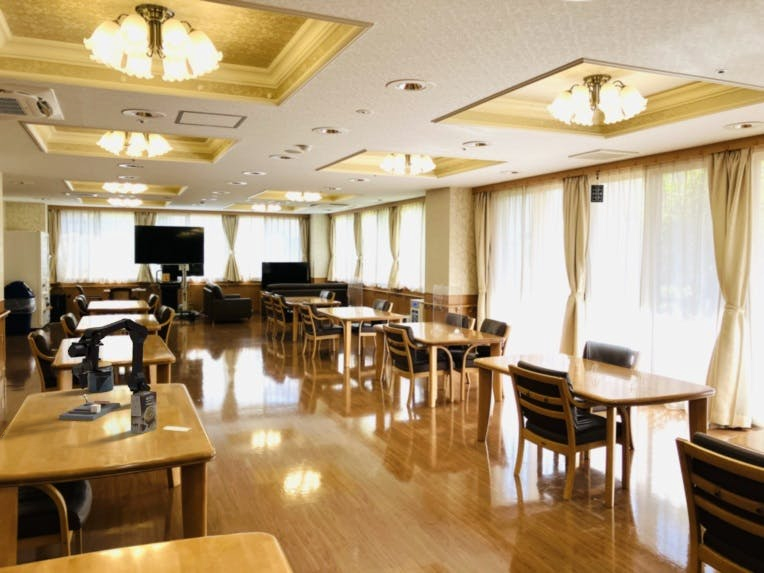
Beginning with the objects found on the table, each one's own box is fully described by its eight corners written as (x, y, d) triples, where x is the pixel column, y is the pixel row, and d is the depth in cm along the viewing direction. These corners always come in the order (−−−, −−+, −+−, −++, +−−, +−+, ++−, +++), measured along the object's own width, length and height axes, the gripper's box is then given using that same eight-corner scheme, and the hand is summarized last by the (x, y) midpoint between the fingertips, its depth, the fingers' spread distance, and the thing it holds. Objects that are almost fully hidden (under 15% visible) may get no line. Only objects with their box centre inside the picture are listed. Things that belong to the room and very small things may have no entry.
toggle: (89, 401, 284) (86, 393, 283) (87, 402, 282) (84, 394, 282) (87, 402, 284) (83, 394, 284) (85, 403, 282) (81, 395, 282)
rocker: (109, 403, 285) (109, 401, 286) (101, 403, 279) (102, 400, 279) (101, 403, 286) (101, 400, 286) (93, 403, 279) (94, 400, 279)
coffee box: (142, 434, 247) (142, 396, 245) (130, 432, 249) (129, 394, 248) (157, 428, 255) (157, 391, 254) (145, 426, 257) (145, 390, 256)
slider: (100, 411, 271) (100, 404, 271) (97, 413, 268) (96, 406, 268) (94, 411, 272) (94, 404, 272) (90, 412, 269) (90, 406, 269)
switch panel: (120, 407, 287) (119, 401, 287) (93, 420, 265) (93, 414, 264) (88, 405, 289) (88, 400, 289) (59, 419, 266) (59, 413, 266)
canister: (118, 387, 327) (118, 356, 326) (105, 393, 314) (104, 360, 313) (96, 386, 328) (95, 355, 327) (82, 392, 315) (81, 359, 314)
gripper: (61, 355, 264) (60, 390, 264) (92, 359, 257) (90, 395, 257) (82, 353, 274) (81, 387, 274) (112, 357, 267) (111, 391, 267)
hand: (90, 390), depth 268 cm, fingers open, 9 cm apart
